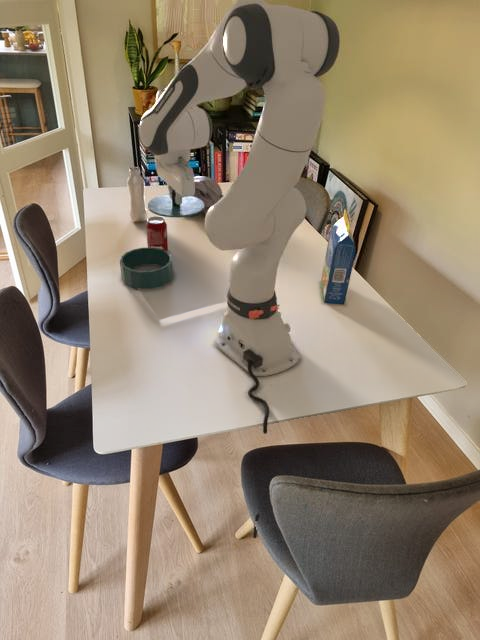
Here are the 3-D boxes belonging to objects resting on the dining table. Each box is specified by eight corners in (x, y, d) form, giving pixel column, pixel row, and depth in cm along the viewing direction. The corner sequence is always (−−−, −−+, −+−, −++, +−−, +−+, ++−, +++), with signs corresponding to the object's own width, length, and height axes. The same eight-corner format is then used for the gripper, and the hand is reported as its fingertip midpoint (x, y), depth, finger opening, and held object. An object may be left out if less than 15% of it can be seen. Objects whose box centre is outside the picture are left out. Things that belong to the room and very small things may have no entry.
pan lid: (214, 214, 130) (214, 197, 127) (159, 223, 123) (158, 205, 120) (190, 194, 141) (190, 178, 138) (139, 202, 134) (138, 185, 131)
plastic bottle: (129, 217, 176) (123, 166, 164) (146, 216, 177) (142, 165, 166) (131, 224, 171) (125, 171, 159) (149, 222, 173) (144, 170, 161)
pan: (180, 283, 138) (180, 265, 134) (131, 295, 131) (129, 276, 128) (161, 261, 149) (160, 243, 145) (115, 271, 142) (113, 253, 138)
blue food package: (340, 284, 142) (355, 209, 127) (344, 305, 132) (362, 226, 118) (320, 282, 142) (333, 207, 128) (323, 303, 133) (338, 225, 118)
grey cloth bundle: (226, 210, 189) (225, 174, 183) (221, 219, 173) (221, 179, 167) (179, 210, 190) (177, 173, 184) (170, 218, 174) (168, 178, 168)
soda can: (164, 258, 150) (162, 225, 143) (145, 255, 151) (142, 222, 144) (170, 249, 156) (169, 217, 149) (152, 246, 157) (149, 214, 149)
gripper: (200, 162, 117) (200, 212, 125) (170, 142, 131) (172, 188, 139) (178, 165, 114) (179, 216, 122) (150, 144, 128) (153, 191, 137)
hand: (175, 201), depth 131 cm, fingers closed on pan lid, 2 cm apart
